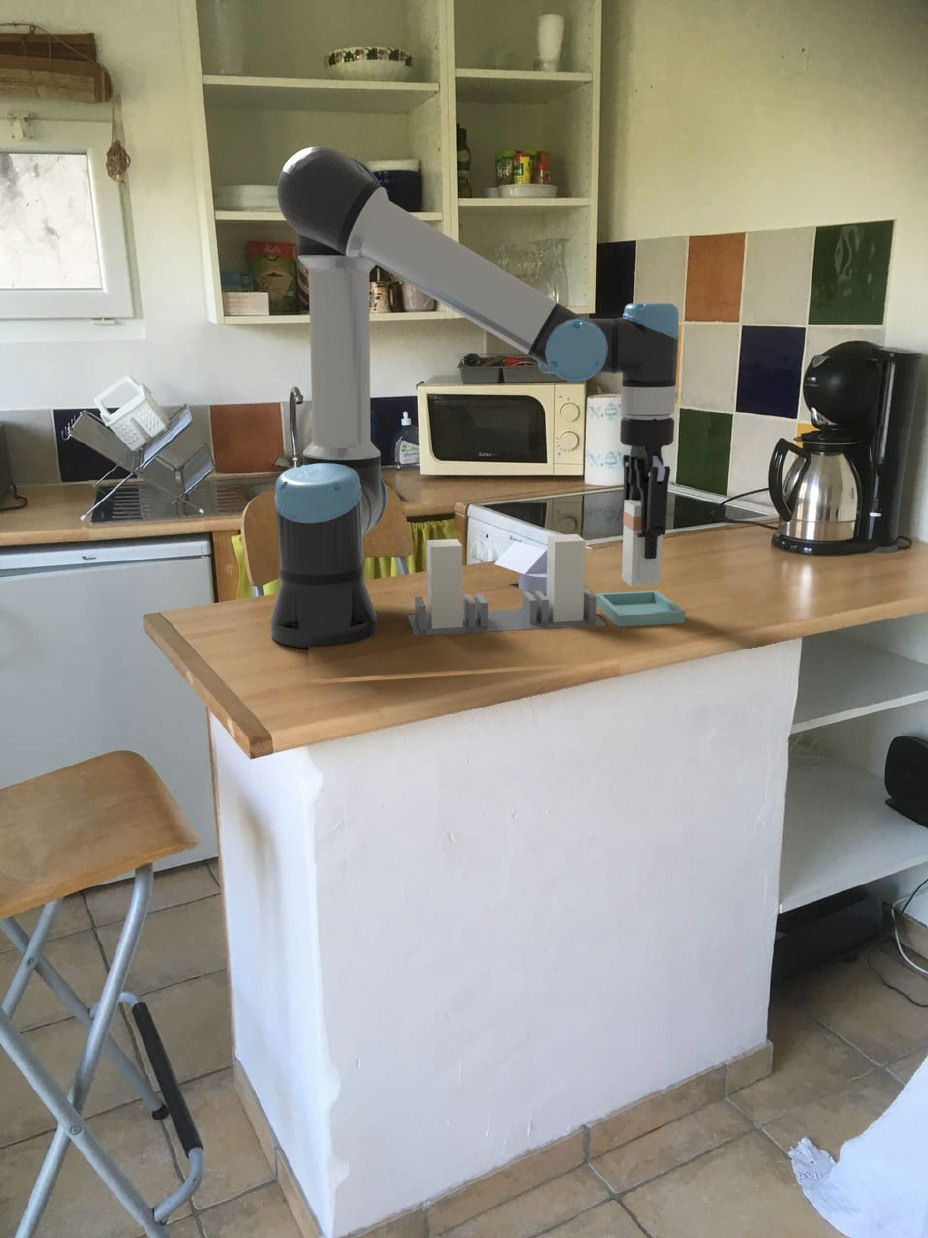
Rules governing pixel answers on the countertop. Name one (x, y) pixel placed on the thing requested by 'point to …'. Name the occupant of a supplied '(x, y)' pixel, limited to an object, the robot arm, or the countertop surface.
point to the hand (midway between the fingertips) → (641, 574)
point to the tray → (639, 608)
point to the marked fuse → (635, 546)
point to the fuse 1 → (444, 583)
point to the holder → (504, 616)
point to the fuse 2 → (565, 577)
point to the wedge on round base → (527, 566)
